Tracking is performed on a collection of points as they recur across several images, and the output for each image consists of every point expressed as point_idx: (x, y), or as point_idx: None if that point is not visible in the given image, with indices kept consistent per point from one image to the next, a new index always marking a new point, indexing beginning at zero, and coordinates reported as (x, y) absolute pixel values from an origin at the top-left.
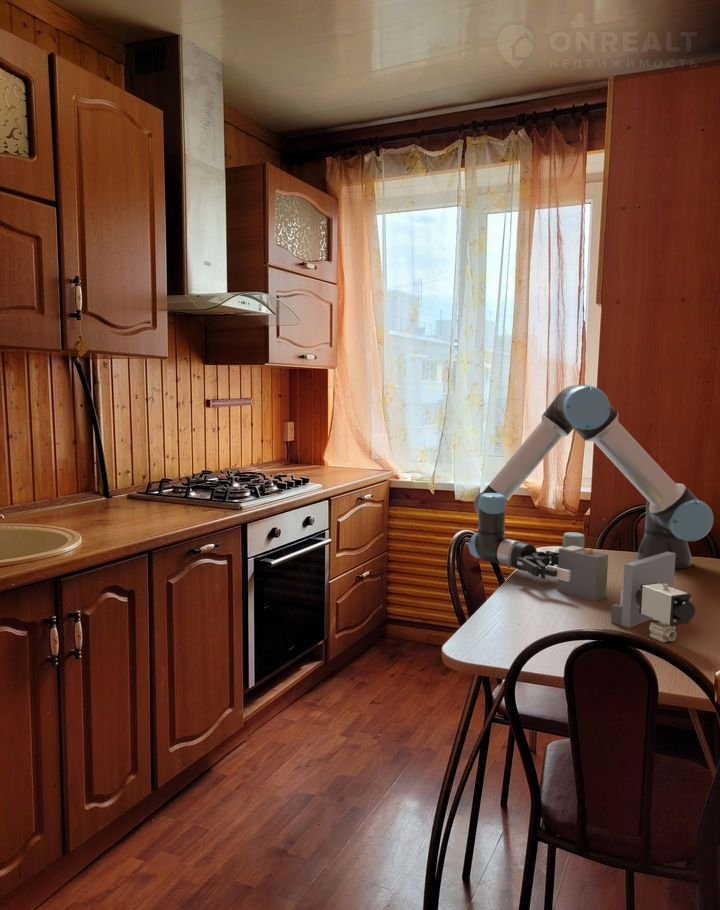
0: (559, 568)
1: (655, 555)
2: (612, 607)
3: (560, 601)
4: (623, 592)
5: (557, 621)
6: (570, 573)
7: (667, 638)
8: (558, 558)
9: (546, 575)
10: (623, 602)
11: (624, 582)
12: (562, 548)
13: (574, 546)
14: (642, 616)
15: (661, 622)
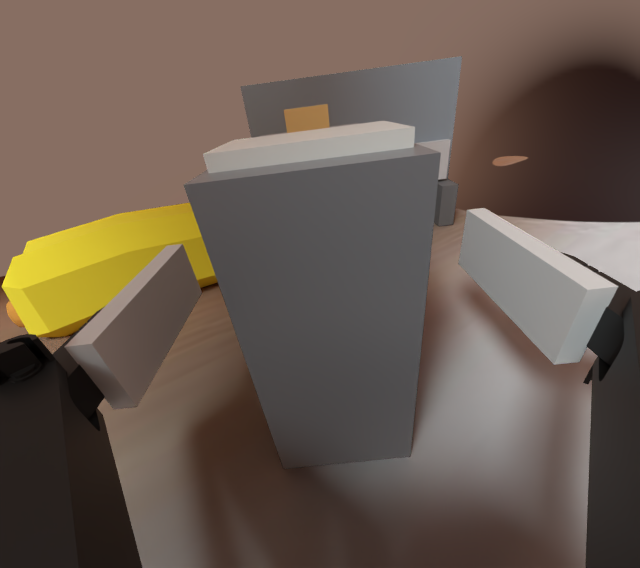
0: (518, 233)
1: (310, 77)
2: (456, 189)
3: (506, 333)
4: (451, 140)
5: (611, 245)
6: (465, 224)
7: None
8: (98, 562)
9: (581, 357)
10: (448, 164)
11: (454, 112)
12: (376, 157)
13: (236, 146)
14: None
15: None
